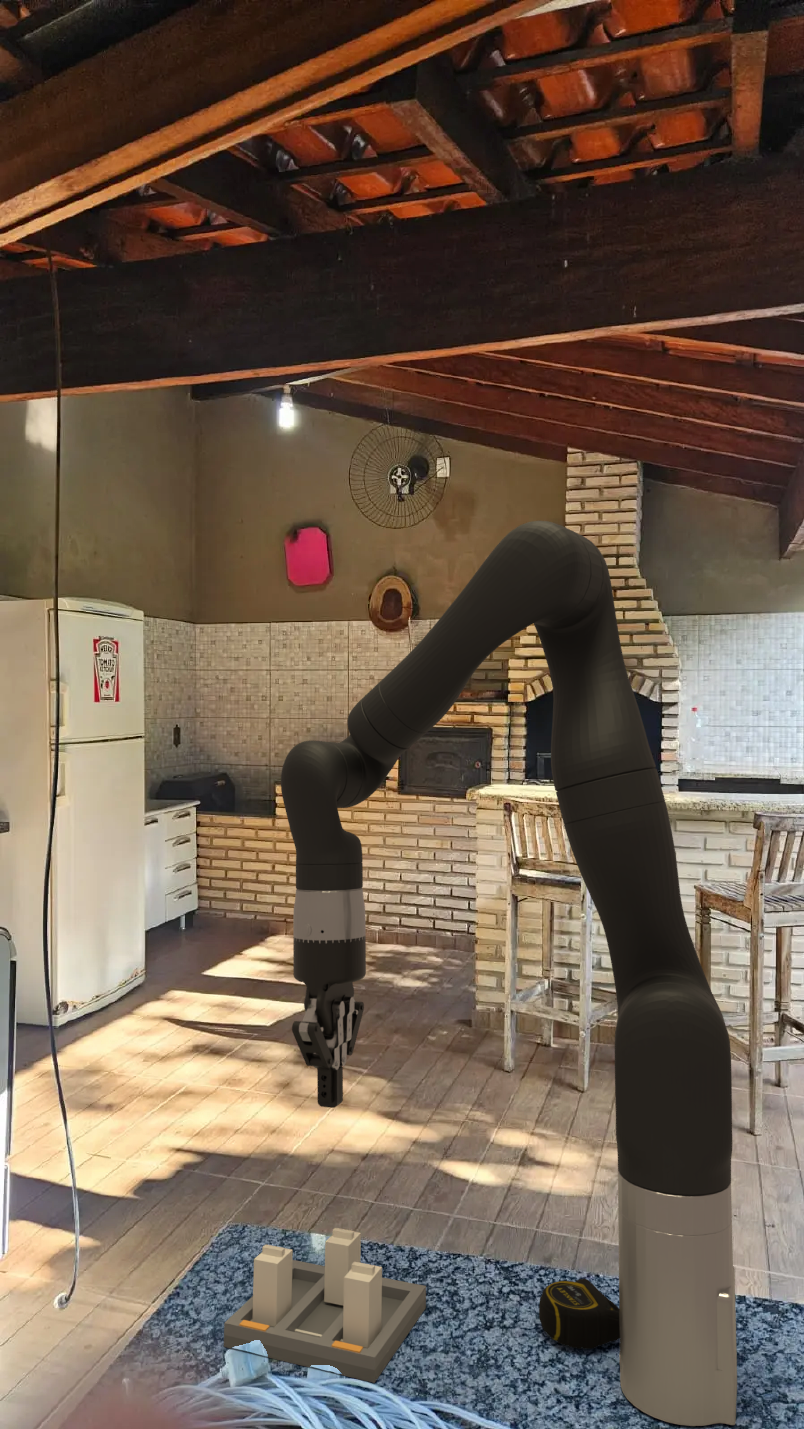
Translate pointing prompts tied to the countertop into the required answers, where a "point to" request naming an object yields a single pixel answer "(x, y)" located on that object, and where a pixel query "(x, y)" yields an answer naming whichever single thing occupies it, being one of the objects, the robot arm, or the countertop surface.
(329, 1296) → the beige upright block
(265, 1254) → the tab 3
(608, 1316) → the tape measure
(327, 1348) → the switch board
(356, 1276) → the beige tall block
